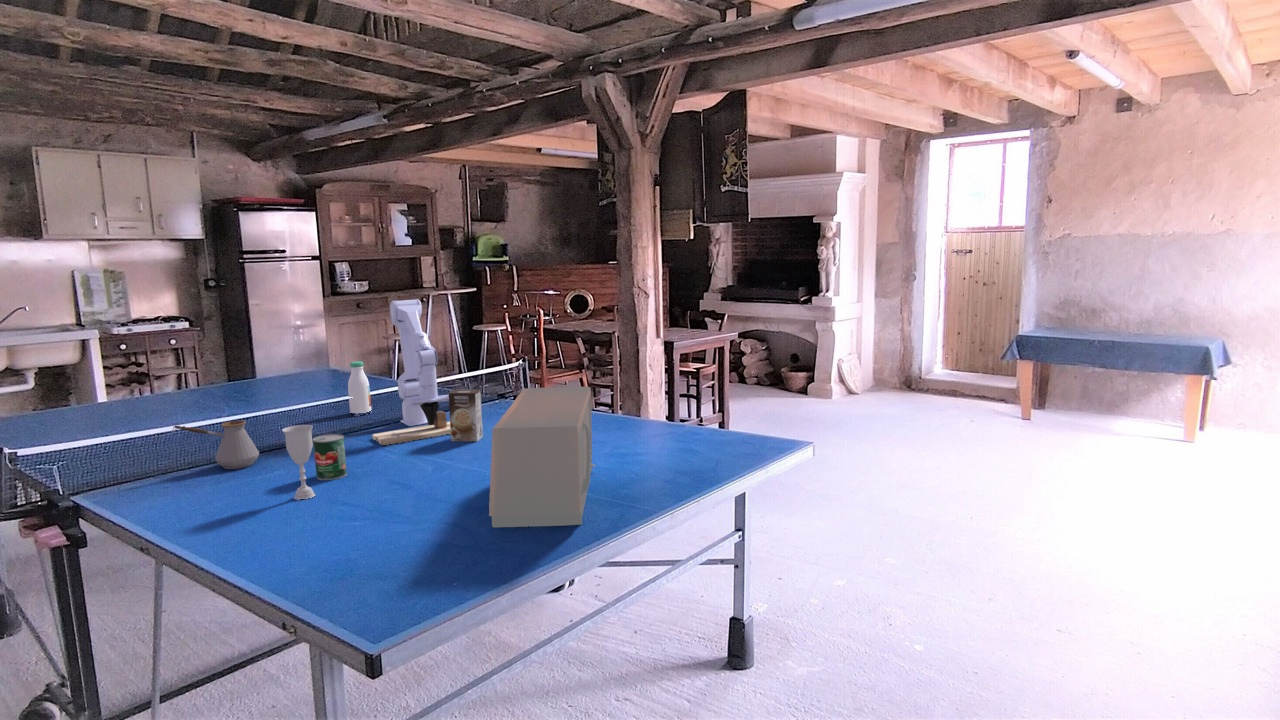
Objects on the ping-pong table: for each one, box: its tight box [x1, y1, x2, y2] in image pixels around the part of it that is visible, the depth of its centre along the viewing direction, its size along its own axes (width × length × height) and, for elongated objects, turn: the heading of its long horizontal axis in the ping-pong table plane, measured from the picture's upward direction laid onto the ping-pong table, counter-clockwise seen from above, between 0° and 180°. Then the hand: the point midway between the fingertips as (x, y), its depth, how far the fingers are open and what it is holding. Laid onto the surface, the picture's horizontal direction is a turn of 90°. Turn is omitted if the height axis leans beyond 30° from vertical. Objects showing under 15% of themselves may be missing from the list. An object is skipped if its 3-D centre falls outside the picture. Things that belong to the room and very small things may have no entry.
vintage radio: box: [488, 386, 597, 528], centre depth 184 cm, size 45×22×24 cm, turn 178°
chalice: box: [281, 424, 316, 501], centre depth 189 cm, size 7×7×18 cm
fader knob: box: [434, 410, 448, 428], centre depth 253 cm, size 4×3×5 cm
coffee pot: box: [171, 420, 260, 470], centre depth 216 cm, size 21×12×15 cm, turn 135°
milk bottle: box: [347, 361, 372, 414], centre depth 283 cm, size 8×8×20 cm
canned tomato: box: [312, 433, 348, 481], centre depth 206 cm, size 8×8×11 cm
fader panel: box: [371, 420, 451, 446], centre depth 250 cm, size 12×28×2 cm, turn 126°
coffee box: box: [447, 388, 484, 443], centre depth 242 cm, size 9×6×16 cm
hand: (431, 424), depth 252 cm, fingers closed
